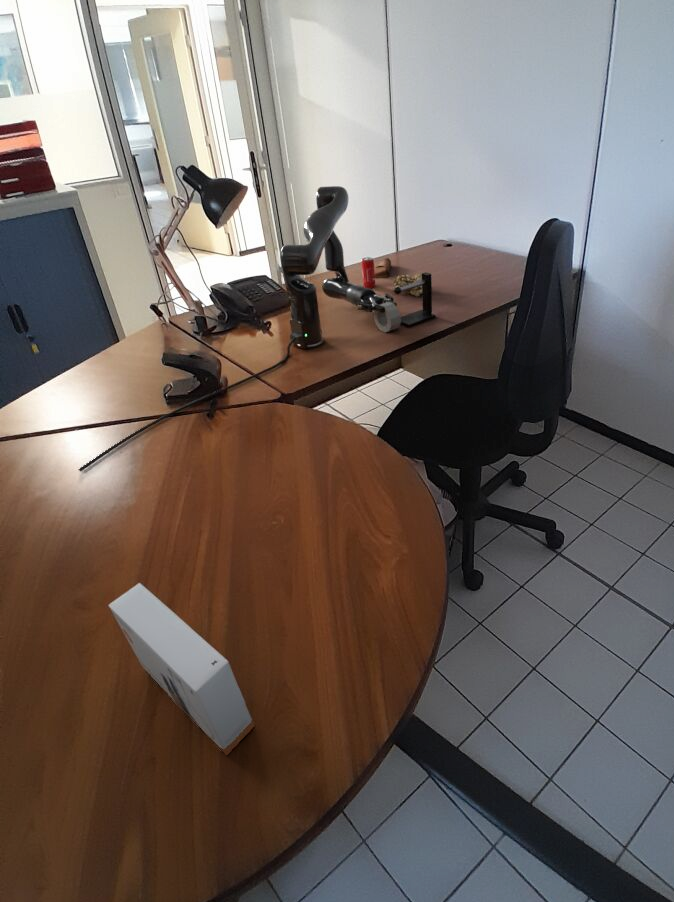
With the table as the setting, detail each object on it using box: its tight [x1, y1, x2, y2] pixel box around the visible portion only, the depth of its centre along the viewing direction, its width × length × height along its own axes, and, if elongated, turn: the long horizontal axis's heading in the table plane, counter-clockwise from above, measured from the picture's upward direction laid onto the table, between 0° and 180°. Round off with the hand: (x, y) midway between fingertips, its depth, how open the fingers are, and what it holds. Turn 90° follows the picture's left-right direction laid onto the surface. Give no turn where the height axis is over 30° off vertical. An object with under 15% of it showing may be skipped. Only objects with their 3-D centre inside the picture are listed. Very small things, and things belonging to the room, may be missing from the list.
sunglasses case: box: [374, 257, 392, 278], centre depth 254 cm, size 18×7×7 cm
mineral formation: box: [393, 273, 422, 298], centre depth 226 cm, size 8×13×15 cm
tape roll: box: [373, 302, 402, 334], centre depth 192 cm, size 5×10×10 cm, turn 40°
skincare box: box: [108, 582, 253, 749], centre depth 75 cm, size 21×6×16 cm, turn 52°
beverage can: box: [361, 256, 376, 289], centre depth 234 cm, size 5×5×12 cm
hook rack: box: [393, 272, 437, 329], centre depth 197 cm, size 16×8×16 cm, turn 130°
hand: (390, 308), depth 189 cm, fingers closed on tape roll, 4 cm apart
